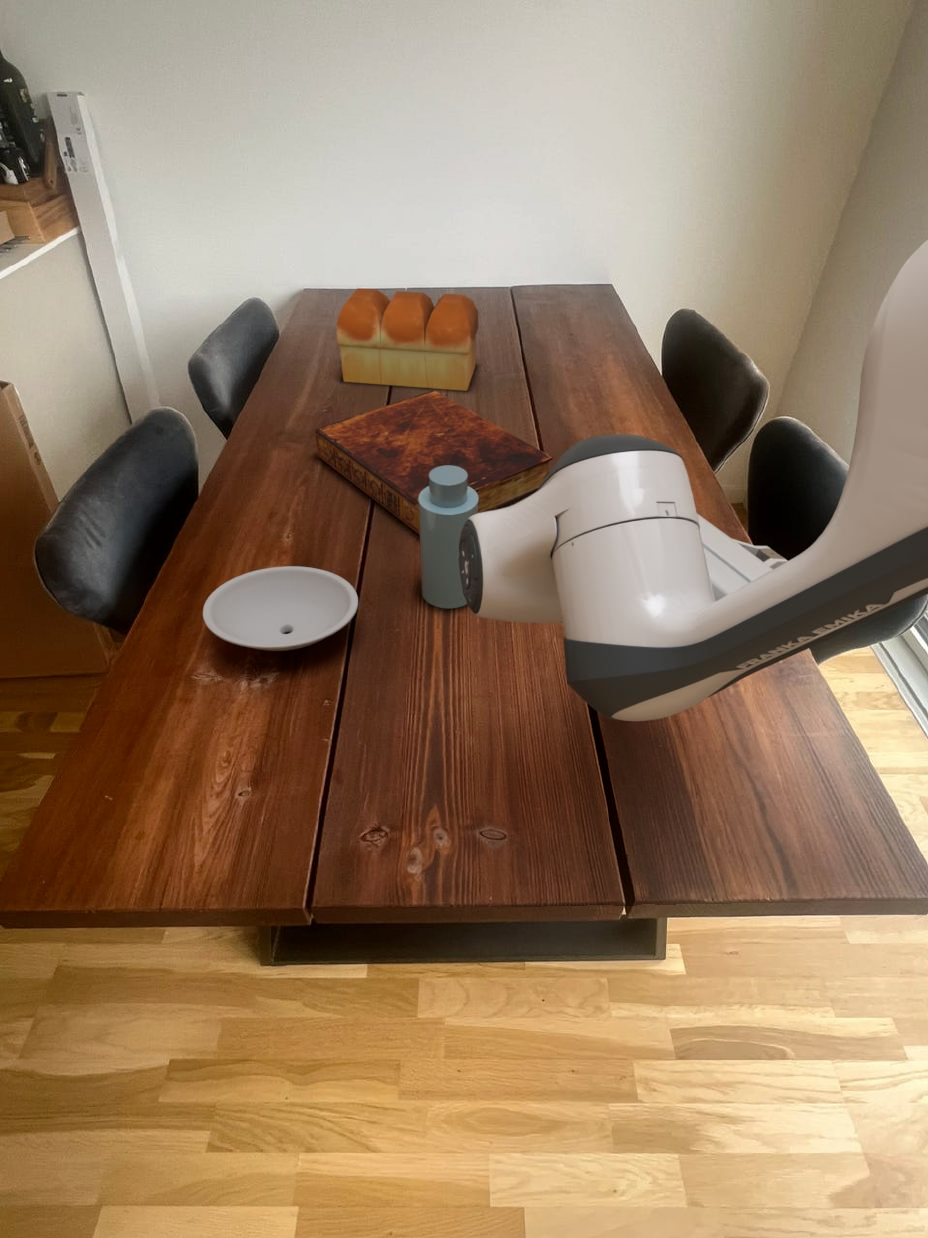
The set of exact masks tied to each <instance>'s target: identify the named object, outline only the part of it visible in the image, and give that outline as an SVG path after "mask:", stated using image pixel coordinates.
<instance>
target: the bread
mask: <svg viewBox="0 0 928 1238" xmlns="http://www.w3.org/2000/svg"><path fill="white" fill-rule="evenodd" d="M479 326H480V325H479V311H478V309H477V306H476V304H475V302H474V301H473V300H472V299H471V298H469V297H468V296H467V295H465V294H457V293H444V294H443V295H441V297H440V298H438V300H437V302H436V303H435V305H434V302H433V300H432V298H431V297H430V296H428V295H427V293H424V292H415V291H414V292H413V291H401V290H400V291H399V290H398V291H396V292H395V294H393V297H392V298H391V300H390V299H389V297H388V296H387V295H386V294H384V293H383V292H381V291H380V290H378V289H373V288H358V287H357V289H356V290H355V291H354V292H353V294H351V296H350V297H349V298H348V299H347V301H346V302H345V303H344V304H343V306H342V307H341V309H340V312H339V315H338V318H337V321H336V344H337V345H338V346H339V350H340V351H339V353H340V360H341V371H342V379H343V382H345V383H357V384H368V385H369V384H371V385H381V386H382V385H383V386H384V385H386V386H396V387H408V388H409V387H410V388H423V389H437V390H451V391H465V392H467V391H468V390H469V387H470V383H471V381H472V378H473V374H474V371H475V368H476V363H477V362H476V360H477V359H476V358H477V357H476V355H477V333H478V331H479Z"/></svg>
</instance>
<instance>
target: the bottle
mask: <svg viewBox="0 0 928 1238" xmlns="http://www.w3.org/2000/svg"><path fill="white" fill-rule="evenodd" d="M478 503H479V498H478V494H477V493H476V491H475V490H474V489H472V488H471V487H469V486H468V474H467V472H466V471H465V470H464V469H462V468H460V467H457V466H452V465H445V466H439V467H436V468H434V469H433V470H431V472H430V473H429V486H428V487H426V488H425V489H423V490H422V491H421V492H420V494H419V497H418V504H419V532H420V535H419V552H420V553H419V554H420V556H419V557H420V559H419V560H420V581H421V582H420V584H421V585H420V587H421V596H422V597H423V599H424V600H425V601H426V602H427V603H428V604H430V605H432V606H433V607H435V608H436V607H437V608H440V609H448V610H449V609H450V610H451V609H457V608H461V607H464V606H466V605H468V604H467V602H466V599H465V597H464V594H463V589H462V583H461V577H460V569H459V540H460V535H461V531H462V529H463V527H464V524H465V522H466V521H467V519H468V518H469V517H471V516H473V515H474V514H477V513H478Z"/></svg>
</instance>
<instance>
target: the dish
mask: <svg viewBox="0 0 928 1238" xmlns="http://www.w3.org/2000/svg"><path fill="white" fill-rule="evenodd" d="M358 606H359V596H358V594H357V592H356V590H355V588H354V587H353V585H352V584H351V583H350V582H349V581H347V580H346V579H345V578H343V577H341V576H340V575H337V574H335V573H333V572H331V571H328V570H325V569H320V568H314V567H311V566H310V567H307V566H299V565H297V566H295V565H294V566H293V565H291V566H290V565H289V566H286V565H285V566H284V565H283V566H274V567H266V568H262V569H257V570H253V571H249V572H247V573H243V574H241V575H237V576H235V577H234V578H231V579H229V580H227V581H226V582H224V583H223V584H221V585H220V586H218V587H217V588H215V590H213V592H211V593H210V595H208V597H207V599H206V601H205V603H204V605H203V609H202V618H203V621H204V624H205V626H206V627H207V628H208V629H209V630H210V632H211V633H213V634H214V635H215V636H216V637H218V638H220V639H221V640H223V641H225V642H228V643H230V644H233V645H237V646H240V647H245V648H251V649H254V650H255V649H256V650H261V651H267V652H269V651H271V652H283V651H292V650H299V649H301V648H305V647H309V646H311V645H314V644H317V643H318V642H321V641H323V640H324V639H325V638H328V637H330V636H332V635H334V634H335V633H337V632H338V631H340V630H341V629H343V628H344V627H345V626H347V625H348V624H349V623H350V621H351V620H352V619H353V618H354V617H355V614H356V613H357V611H358V608H359V607H358Z"/></svg>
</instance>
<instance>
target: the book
mask: <svg viewBox="0 0 928 1238" xmlns="http://www.w3.org/2000/svg"><path fill="white" fill-rule="evenodd" d="M314 432H315V434H314V435H315V440H316V448H317V454H318V455H317V456H318V458H319V459H320V460H322V461H323V462H324V463H326V464H327V465H328V466H329V467H330V468H332V469H333V470H334V471H336V472H337V473H338V474H339V475H341V476H342V477H343V478H345V479H346V480H347V481H349V482H350V483H351V484H353V486H355V487H357V488H358V489H359V490H361V491H362V492H363V493H364V494H365V495H367V496H368V497H369V498H371V499H372V500H374V501H375V502H376V503H377V504H379V505H380V506H381V507H382V508H383V509H385V510H386V511H387V512H388V513H390V514H392V515H393V516H394V517H395V518H397V519H398V521H401V522H402V523H403V524H404V525H406V526H407V527H408V528H410V529H411V530H412V531H413V532H415V533H416V534H417V535H419V536H420V532H419V504H418V497H419V494H420V492H421V491H422V490H423V489H425V488H426V487H428V486H429V473H430V472H431V470H433V469H434V468H436V467H439V466H445V465H452V466H457V467H460V468H462V469H464V470H465V471H466V472H467V474H468V486H469V487H471V488H472V489H474V490H475V491H476V493H477V494H478V498H479V503H478V513H482V512H487V511H492V510H498V509H502V508H506V507H508V506H510V505H511V504H513V503H514V504H515V502H516V503H517V502H519V501H521V500H524V499H526V498H527V497H529V496H531V495H532V494H534V493H535V492H536V491H537V489H538V488H539V486H540V484H541V483H542V482H543V480H544V479H545V477H546V476H547V475H548V473H549V465H550V461H553V460H554V458H553V457H552V456H551V455H549V454H548V453H546V452H545V451H542V450H541V449H539V448H537V447H535V446H534V445H531V444H530V443H528V442H526V441H525V440H523V439H521V438H519V437H517V436H516V435H515V434H512V433H511V432H509V431H507V430H506V429H504V428H502V427H500V426H498V425H496V424H495V423H493V422H491V421H489V420H488V419H486V418H485V417H482V416H481V415H479V414H477V413H476V412H473V411H472V410H470V409H468V408H467V407H465V406H463V405H461V404H460V403H457V402H456V401H455V400H453V399H451V398H449V397H447V396H445V395H444V394H442V393H441V392H438V391H436V390H435V389H433V390H430V391H428V392H424V393H421V394H418V395H415V396H412V397H409V398H406V399H403V400H399V401H397V402H394V403H391V404H388V405H384V406H381V407H378V408H375V409H372V410H369V411H367V412H363V413H360V414H357V415H353V416H350V417H348V418H344V419H342V420H338V421H336V422H332V423H330V424H326V425H324V426H321V427H320V426H319V427H317V428H315V429H314Z"/></svg>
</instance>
